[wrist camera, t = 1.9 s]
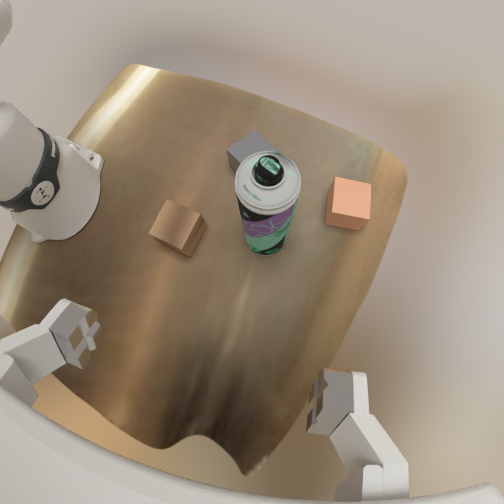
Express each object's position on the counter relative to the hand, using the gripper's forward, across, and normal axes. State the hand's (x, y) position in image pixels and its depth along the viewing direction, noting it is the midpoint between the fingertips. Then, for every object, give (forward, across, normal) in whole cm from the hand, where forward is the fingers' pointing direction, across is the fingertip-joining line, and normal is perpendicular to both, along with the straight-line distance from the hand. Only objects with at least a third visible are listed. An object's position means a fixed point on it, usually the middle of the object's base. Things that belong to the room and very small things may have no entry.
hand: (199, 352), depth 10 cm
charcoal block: (+37, +4, +5) cm, 37 cm away
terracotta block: (+34, -10, +8) cm, 36 cm away
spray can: (+30, 0, +12) cm, 32 cm away
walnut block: (+28, +11, +14) cm, 33 cm away
